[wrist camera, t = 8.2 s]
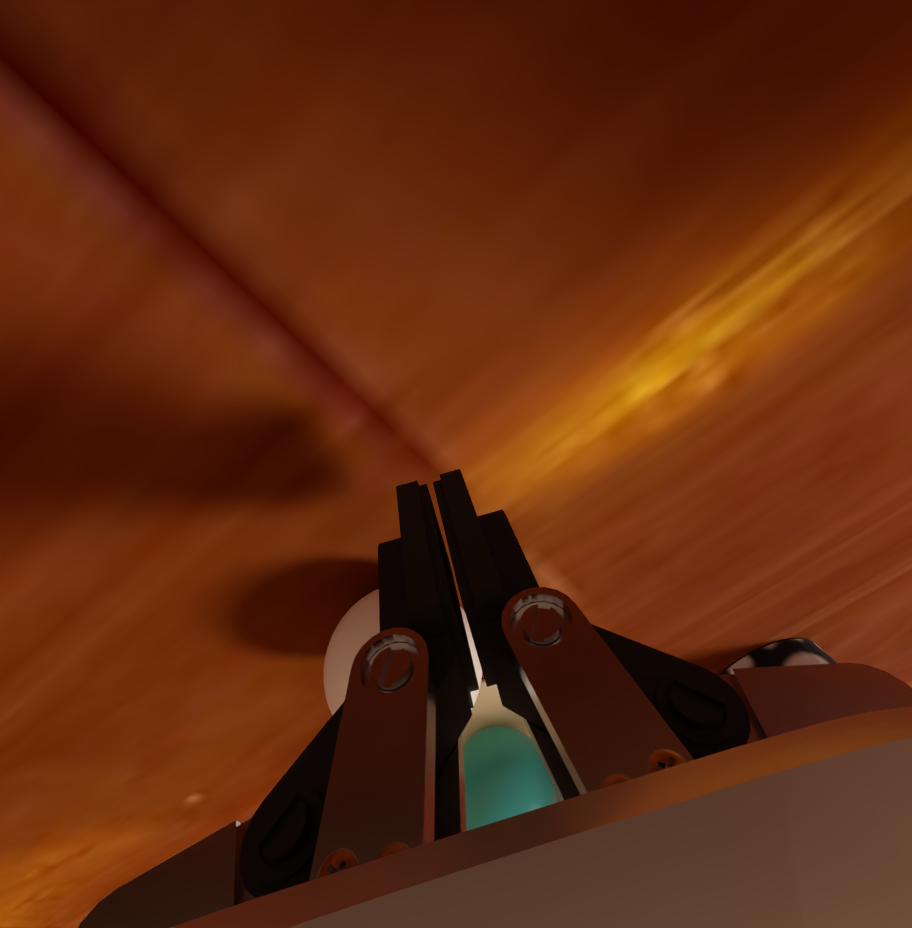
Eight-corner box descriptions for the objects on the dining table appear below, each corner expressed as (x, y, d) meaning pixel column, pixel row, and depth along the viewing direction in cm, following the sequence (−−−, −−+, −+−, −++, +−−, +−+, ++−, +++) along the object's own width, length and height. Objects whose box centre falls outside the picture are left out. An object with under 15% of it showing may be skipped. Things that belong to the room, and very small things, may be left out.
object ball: (588, 875, 18) (551, 782, 24) (555, 758, 18) (525, 692, 24) (472, 919, 18) (461, 814, 24) (437, 800, 18) (434, 722, 23)
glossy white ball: (470, 808, 13) (482, 658, 18) (482, 699, 11) (492, 560, 16) (305, 780, 14) (360, 642, 19) (280, 670, 11) (350, 544, 16)
